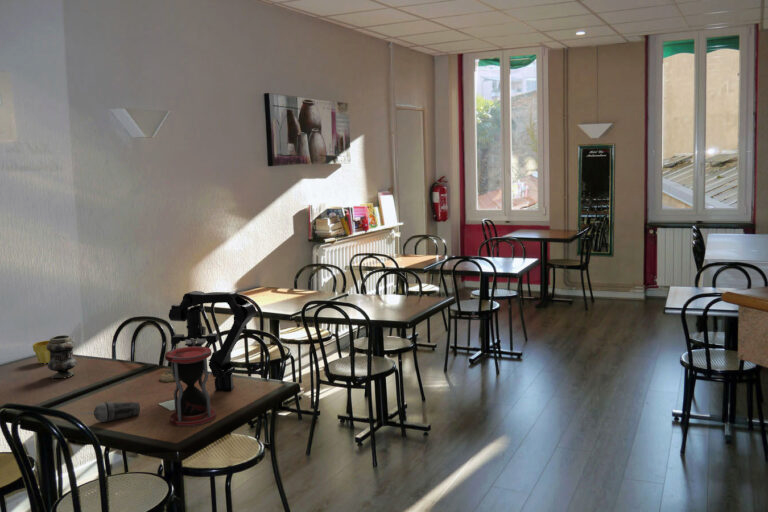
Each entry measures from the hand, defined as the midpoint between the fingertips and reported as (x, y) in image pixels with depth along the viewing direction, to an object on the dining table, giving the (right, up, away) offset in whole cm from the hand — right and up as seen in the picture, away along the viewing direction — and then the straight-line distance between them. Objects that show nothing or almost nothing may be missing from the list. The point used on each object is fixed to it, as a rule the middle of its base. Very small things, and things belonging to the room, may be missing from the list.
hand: (196, 358), depth 296 cm
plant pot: (-86, -9, +50) cm, 100 cm away
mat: (-2, -15, -19) cm, 24 cm away
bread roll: (-14, -11, +16) cm, 24 cm away
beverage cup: (-14, -14, -30) cm, 36 cm away
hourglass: (+8, -17, -36) cm, 41 cm away
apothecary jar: (-67, -12, +26) cm, 72 cm away
